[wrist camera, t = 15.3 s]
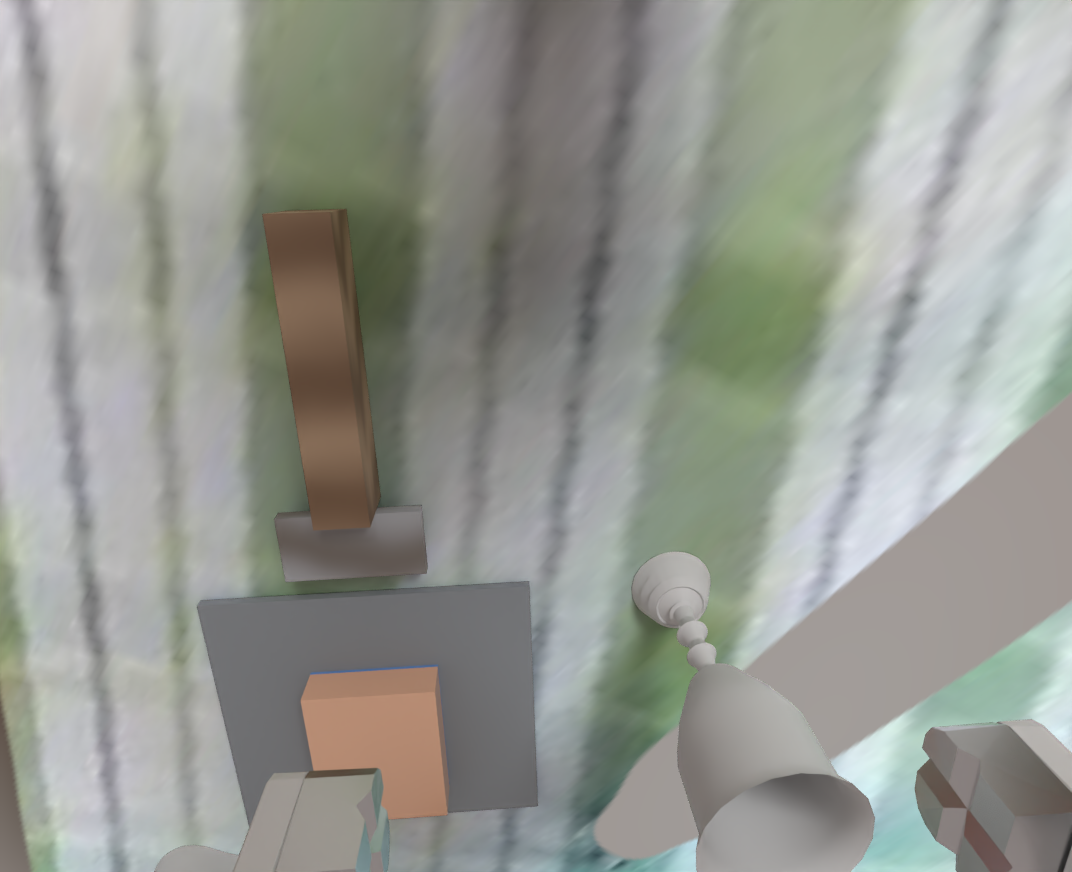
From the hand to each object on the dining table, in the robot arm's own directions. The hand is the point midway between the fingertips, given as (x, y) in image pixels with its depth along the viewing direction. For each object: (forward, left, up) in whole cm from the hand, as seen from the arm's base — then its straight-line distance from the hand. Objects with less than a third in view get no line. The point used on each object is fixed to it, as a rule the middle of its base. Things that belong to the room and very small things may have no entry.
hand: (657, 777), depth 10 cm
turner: (+3, -11, -29) cm, 31 cm away
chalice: (+16, +8, -29) cm, 34 cm away
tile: (+20, -11, -27) cm, 36 cm away
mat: (+24, -11, -29) cm, 39 cm away
